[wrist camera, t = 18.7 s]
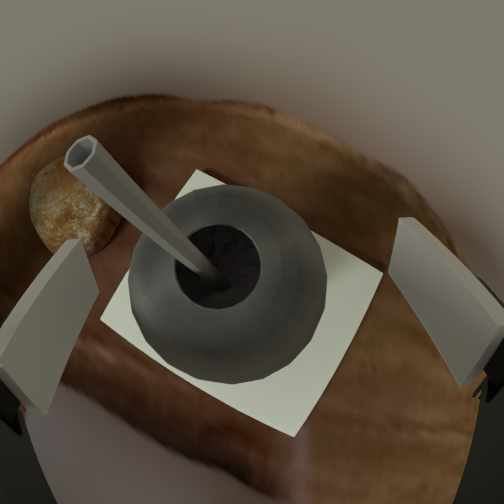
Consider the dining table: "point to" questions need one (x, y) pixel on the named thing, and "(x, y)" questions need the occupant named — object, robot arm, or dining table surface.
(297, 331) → the beverage cup
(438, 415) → the dining table surface
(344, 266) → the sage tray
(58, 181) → the bread roll
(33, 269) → the dining table surface
